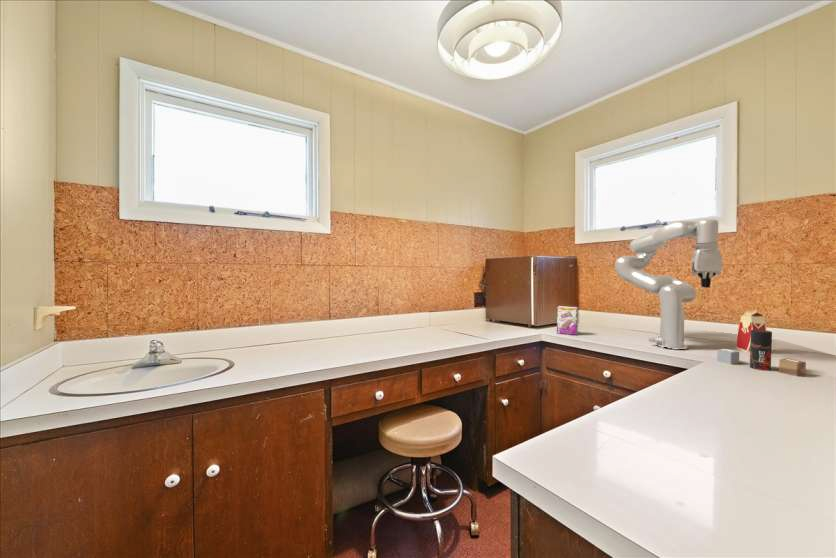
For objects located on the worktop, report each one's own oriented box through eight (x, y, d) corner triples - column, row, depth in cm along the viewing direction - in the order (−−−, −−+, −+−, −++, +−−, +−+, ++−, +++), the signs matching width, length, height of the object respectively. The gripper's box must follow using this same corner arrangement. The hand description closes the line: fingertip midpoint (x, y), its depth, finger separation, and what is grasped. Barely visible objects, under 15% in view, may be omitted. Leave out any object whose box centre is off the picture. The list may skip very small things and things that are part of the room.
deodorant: (764, 366, 137) (766, 330, 136) (774, 371, 131) (775, 332, 131) (746, 365, 139) (747, 329, 138) (755, 369, 133) (756, 332, 132)
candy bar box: (556, 333, 204) (556, 306, 203) (558, 332, 208) (558, 305, 208) (576, 335, 198) (577, 308, 197) (577, 334, 202) (578, 307, 202)
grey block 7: (730, 364, 140) (731, 352, 140) (717, 361, 145) (717, 349, 145) (739, 363, 142) (739, 351, 142) (725, 360, 147) (725, 348, 146)
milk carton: (771, 353, 156) (772, 310, 155) (747, 352, 158) (748, 310, 157) (755, 348, 165) (757, 308, 164) (733, 348, 166) (734, 307, 166)
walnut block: (796, 376, 125) (797, 362, 125) (779, 372, 130) (779, 359, 130) (805, 375, 127) (805, 361, 126) (787, 371, 131) (788, 358, 131)
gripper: (691, 247, 152) (690, 287, 153) (731, 246, 148) (730, 288, 149) (683, 247, 159) (682, 286, 160) (721, 247, 155) (720, 286, 156)
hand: (705, 287), depth 154 cm, fingers closed
